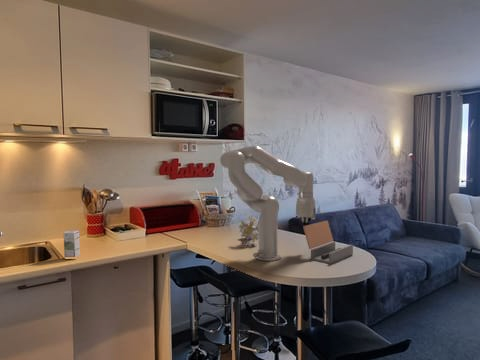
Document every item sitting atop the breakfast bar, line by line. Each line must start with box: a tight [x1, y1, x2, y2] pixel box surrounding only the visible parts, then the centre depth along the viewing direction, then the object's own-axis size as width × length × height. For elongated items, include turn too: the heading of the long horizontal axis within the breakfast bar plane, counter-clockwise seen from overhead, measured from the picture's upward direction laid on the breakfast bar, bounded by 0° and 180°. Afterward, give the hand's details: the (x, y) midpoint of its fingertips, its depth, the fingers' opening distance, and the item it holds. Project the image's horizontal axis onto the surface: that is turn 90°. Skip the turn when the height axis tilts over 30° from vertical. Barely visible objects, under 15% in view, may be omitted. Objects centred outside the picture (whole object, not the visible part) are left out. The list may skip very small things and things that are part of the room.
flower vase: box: [238, 215, 259, 248], centre depth 206 cm, size 13×18×25 cm
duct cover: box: [302, 220, 334, 250], centre depth 175 cm, size 22×12×1 cm
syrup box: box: [62, 229, 81, 258], centre depth 176 cm, size 6×6×14 cm
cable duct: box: [310, 241, 354, 265], centre depth 170 cm, size 22×11×5 cm, turn 135°
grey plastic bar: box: [321, 247, 342, 259], centre depth 170 cm, size 18×2×2 cm, turn 135°
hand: (306, 229), depth 180 cm, fingers closed
